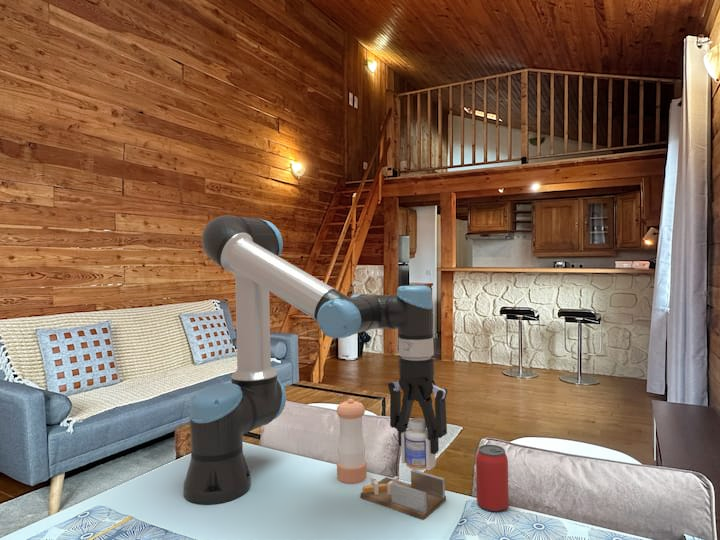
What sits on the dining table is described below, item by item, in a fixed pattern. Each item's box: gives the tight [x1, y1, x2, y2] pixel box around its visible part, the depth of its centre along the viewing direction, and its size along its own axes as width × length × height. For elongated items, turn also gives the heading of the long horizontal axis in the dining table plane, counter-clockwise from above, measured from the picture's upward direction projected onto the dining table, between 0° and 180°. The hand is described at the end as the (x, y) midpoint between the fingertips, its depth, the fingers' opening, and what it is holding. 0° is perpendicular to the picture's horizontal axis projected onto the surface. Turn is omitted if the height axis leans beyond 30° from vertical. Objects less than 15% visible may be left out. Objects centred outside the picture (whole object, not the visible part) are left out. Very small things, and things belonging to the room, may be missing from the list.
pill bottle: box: [405, 417, 429, 471], centre depth 103 cm, size 5×5×10 cm
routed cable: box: [362, 475, 400, 495], centre depth 108 cm, size 8×7×2 cm
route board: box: [360, 476, 447, 521], centre depth 106 cm, size 16×10×1 cm, turn 53°
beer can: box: [475, 444, 510, 512], centre depth 102 cm, size 7×7×12 cm
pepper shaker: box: [336, 398, 368, 484], centre depth 117 cm, size 7×7×19 cm
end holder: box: [391, 469, 446, 514], centre depth 103 cm, size 8×9×4 cm
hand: (418, 464), depth 103 cm, fingers closed on pill bottle, 5 cm apart
